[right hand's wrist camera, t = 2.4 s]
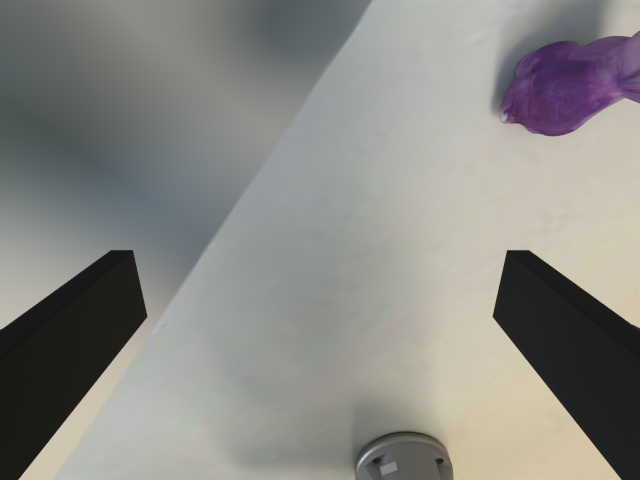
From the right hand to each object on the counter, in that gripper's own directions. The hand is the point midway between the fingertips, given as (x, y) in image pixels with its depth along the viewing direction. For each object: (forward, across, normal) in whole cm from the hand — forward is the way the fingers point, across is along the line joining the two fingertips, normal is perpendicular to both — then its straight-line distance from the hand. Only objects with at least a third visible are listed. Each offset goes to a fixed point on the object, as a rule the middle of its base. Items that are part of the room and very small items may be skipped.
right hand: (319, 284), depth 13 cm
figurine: (+28, -23, -8) cm, 37 cm away
